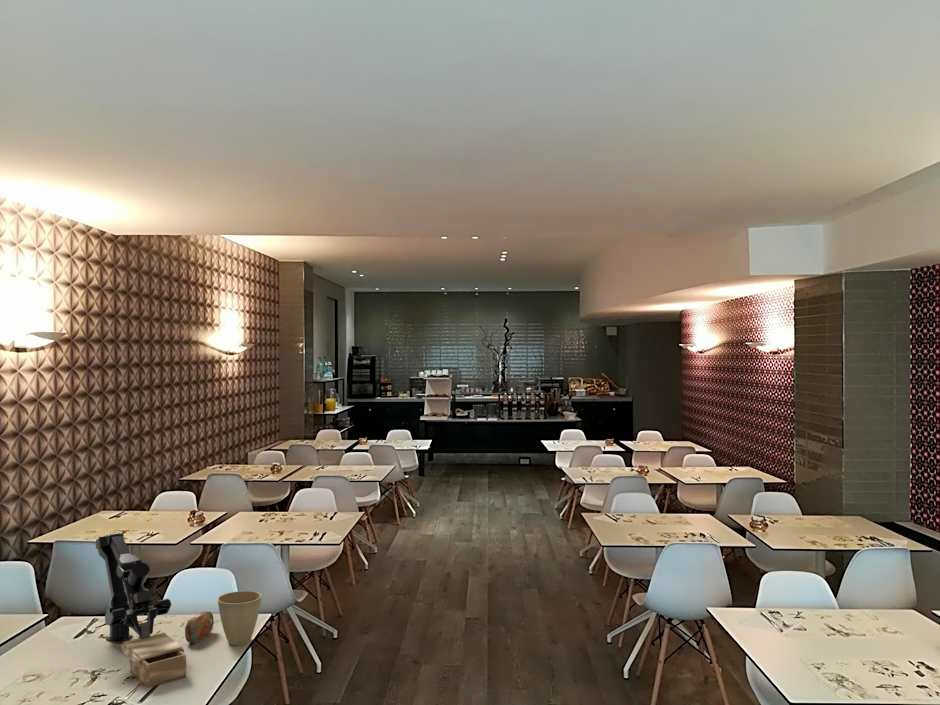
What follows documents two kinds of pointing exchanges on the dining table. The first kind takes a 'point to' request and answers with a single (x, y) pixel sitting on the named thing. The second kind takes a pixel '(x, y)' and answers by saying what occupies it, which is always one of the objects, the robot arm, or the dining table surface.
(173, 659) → the carton
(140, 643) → the carton lid
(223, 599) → the plant pot
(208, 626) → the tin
